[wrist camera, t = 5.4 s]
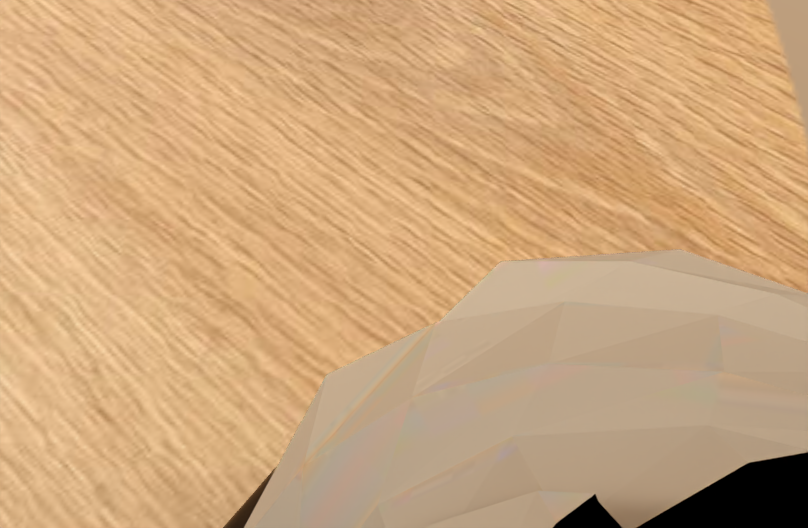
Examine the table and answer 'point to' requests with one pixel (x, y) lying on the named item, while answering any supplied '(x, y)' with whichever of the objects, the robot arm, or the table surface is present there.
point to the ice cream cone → (568, 407)
